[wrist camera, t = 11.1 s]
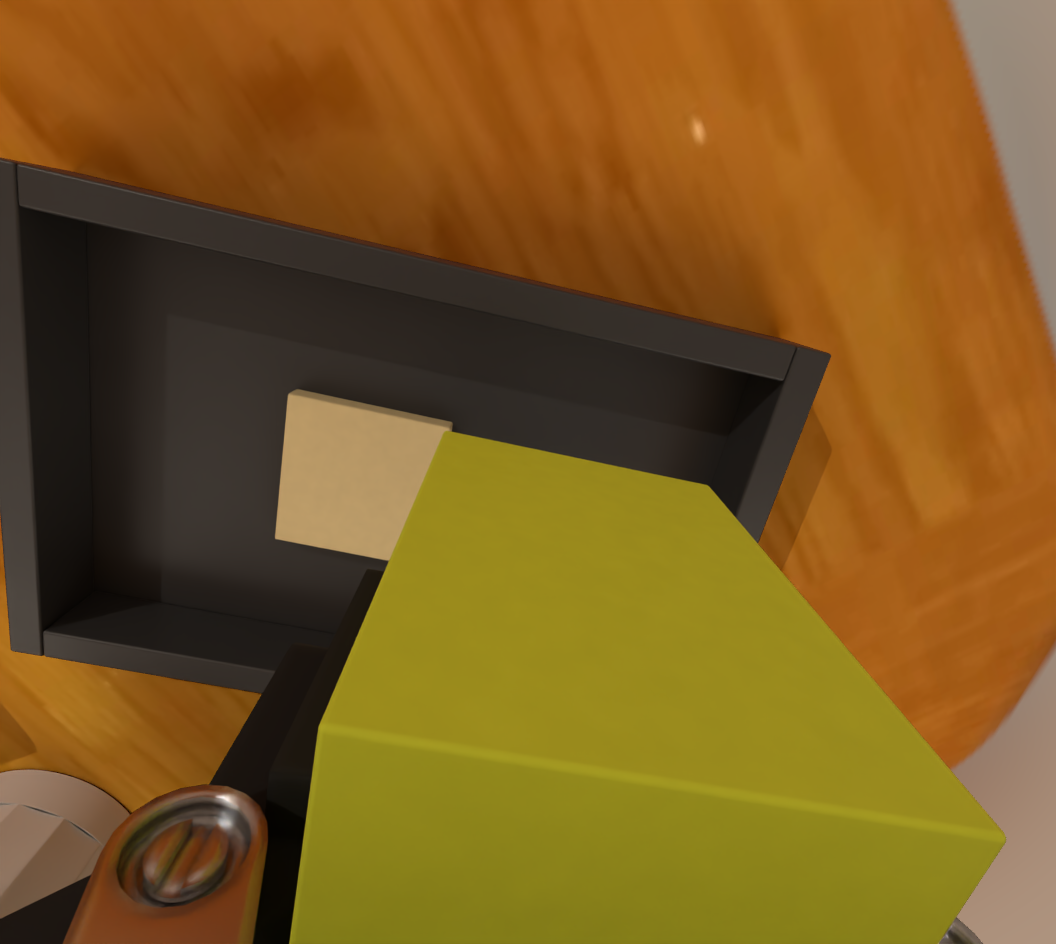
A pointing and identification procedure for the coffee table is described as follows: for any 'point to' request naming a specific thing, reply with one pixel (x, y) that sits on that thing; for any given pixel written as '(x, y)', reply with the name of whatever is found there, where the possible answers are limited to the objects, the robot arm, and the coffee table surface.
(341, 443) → the beige flat square block
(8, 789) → the cup
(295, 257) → the pan
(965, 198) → the coffee table surface
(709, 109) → the coffee table surface
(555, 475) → the yellow-green rectangular block
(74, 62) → the coffee table surface
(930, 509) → the coffee table surface
